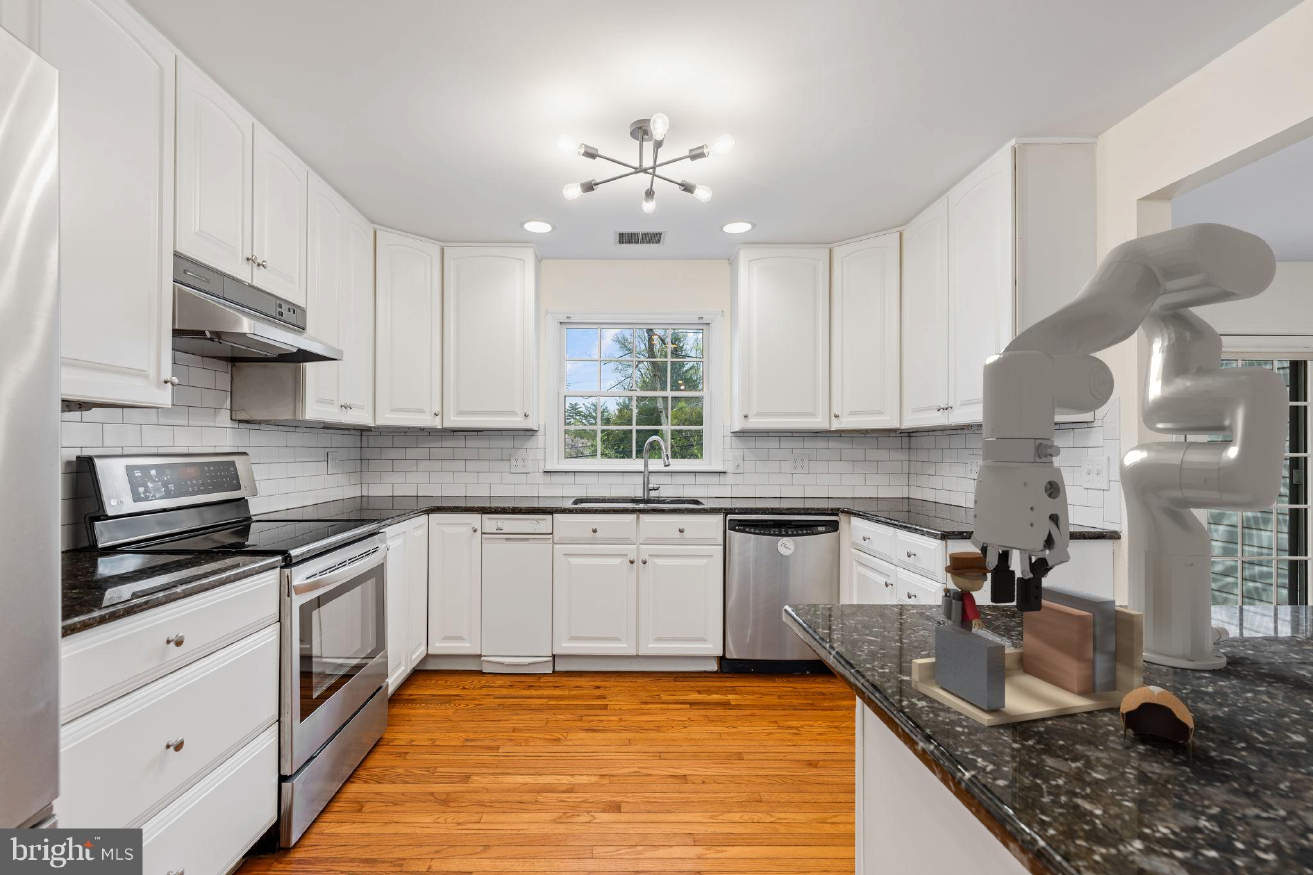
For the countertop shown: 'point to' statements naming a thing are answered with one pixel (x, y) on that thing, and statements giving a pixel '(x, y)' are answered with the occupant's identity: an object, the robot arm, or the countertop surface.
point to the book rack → (1059, 661)
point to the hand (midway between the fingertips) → (1015, 605)
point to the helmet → (1157, 715)
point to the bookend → (970, 666)
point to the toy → (964, 589)
